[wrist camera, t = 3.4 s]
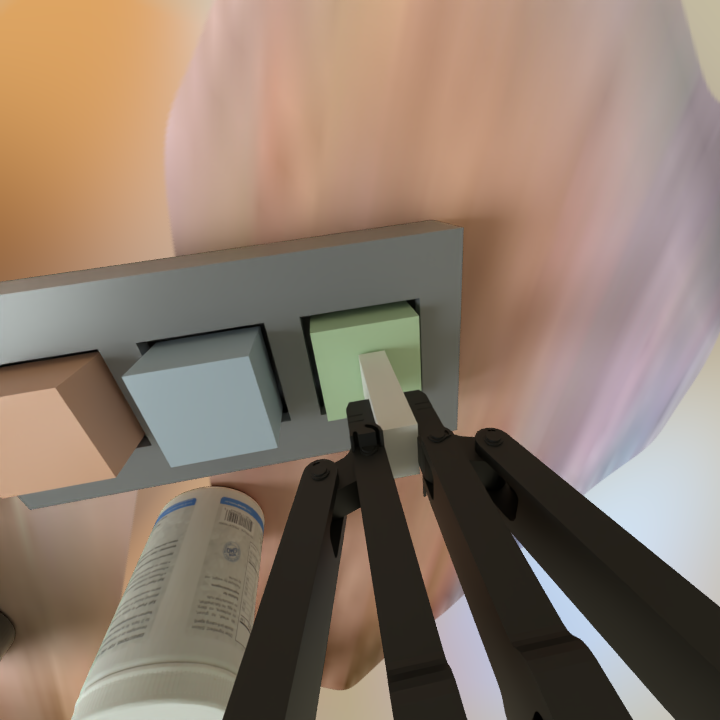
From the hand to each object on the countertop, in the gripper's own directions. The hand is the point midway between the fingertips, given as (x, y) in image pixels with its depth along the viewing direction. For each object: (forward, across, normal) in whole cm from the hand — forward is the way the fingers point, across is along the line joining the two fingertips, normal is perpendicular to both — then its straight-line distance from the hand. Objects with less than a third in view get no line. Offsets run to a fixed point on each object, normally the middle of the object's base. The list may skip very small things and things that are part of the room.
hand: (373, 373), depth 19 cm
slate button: (+3, -9, 0) cm, 10 cm away
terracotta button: (+3, -18, 0) cm, 18 cm away
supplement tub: (+7, -16, -17) cm, 24 cm away
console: (+7, -9, 0) cm, 11 cm away
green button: (+4, 0, 0) cm, 4 cm away
